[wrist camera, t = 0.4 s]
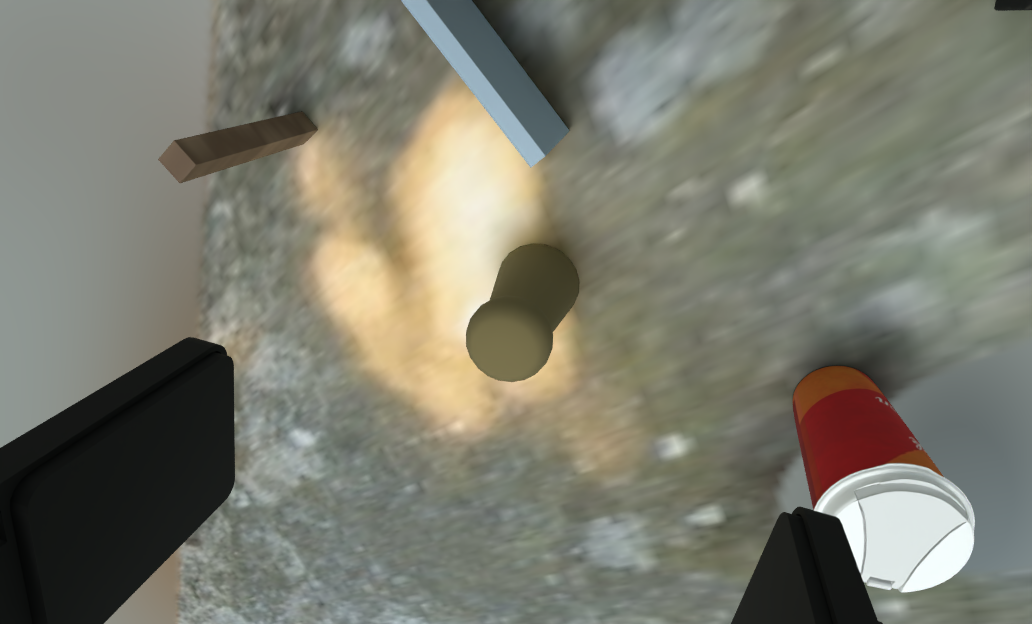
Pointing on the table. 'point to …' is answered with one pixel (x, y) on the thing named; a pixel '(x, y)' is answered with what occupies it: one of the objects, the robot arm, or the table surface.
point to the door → (491, 74)
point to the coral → (1013, 5)
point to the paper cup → (879, 483)
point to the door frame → (235, 145)
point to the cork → (522, 313)
